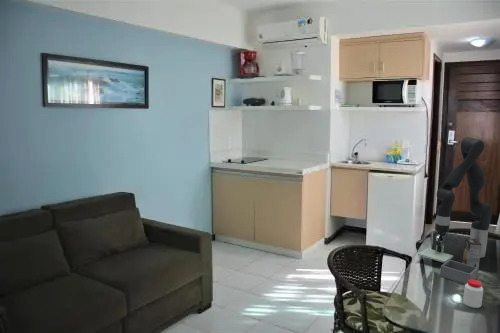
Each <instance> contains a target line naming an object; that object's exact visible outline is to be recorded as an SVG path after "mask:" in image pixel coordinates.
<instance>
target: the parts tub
mask: <svg viewBox="0 0 500 333" xmlns="http://www.w3.org/2000/svg"><path fill="white" fill-rule="evenodd" d="M478 275H479V269H478V268H477V267H474V266H470V265H467V264H463V262H460V261H455V260H452V259H450V260H448V261H447V262H445V263H444V262H443V264H442V265H440V271H439V277H441V278H444V279H448V280H452V281H454V282H457V283H460V284H463V285H465V284H467V283H468V280H470V279H473V280H478Z"/></svg>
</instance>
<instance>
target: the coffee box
mask: <svg viewBox="0 0 500 333" xmlns="http://www.w3.org/2000/svg"><path fill="white" fill-rule="evenodd" d="M481 246H482V244H481V243H480V242H479V241H478V240H477V239H471V238H470V237H469V238H468V237H466V238H465V239H464V249H463V256H462V263H463V264H467V265H470V266H474V267H477V268H478V270H479V267H480V260H481V258H480V253H481Z"/></svg>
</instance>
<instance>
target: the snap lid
mask: <svg viewBox="0 0 500 333" xmlns="http://www.w3.org/2000/svg"><path fill="white" fill-rule="evenodd" d="M437 246H438V245H436V244H435V249H431V248H428V247H427V248H425V249H423V250H422V251H420V252H418V253H417V255H418V256H421V257H423V258H426V259H429V260H433V261H437V262H440V263H443V264H444V263H445V262H447V261H448V260H452V258H454V255H453V254H450V253H447V252H446V253H445V252H444V249H445V243H444V244H442V248H441V252H438V251H437Z"/></svg>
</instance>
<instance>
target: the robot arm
mask: <svg viewBox="0 0 500 333" xmlns="http://www.w3.org/2000/svg"><path fill="white" fill-rule="evenodd" d="M484 149H485V142H484V141H483V140H481V139H478V138H474V137H470V136H467V137H464V138H463V139H461V141H460V151H461V155H462V158H463V161H461V162H460V163H459V164H458V165H456V166H455V167H454V168H452V170H451V172H450V173H449V175H448V176H447V178H446V180H445V182H443V184H442V185H440V187H439V188H438V189H437V191H436V198H437V199H438V200H440V201H442V204H439V205H438V206H437V209H436V210H437V211H436V217H435V225H434V231H436V232H437V233H436V237H434V243H435V246H436V245H438V246H437V251H438V252H441V248H442V244H444V245H445V243H446V240H447V238H448V232H450V225H451V213H452V212H451V211H452V207H453V206H454V203H455V201H456V195H455V193H454V192H453V191H452V190H453V189H457V188H458V187H459V185H460V184H461V182H462V180H463V179H464V177H465V175H466V182H467V187H468V195H469V197H468V198H469V200H468V201H469V211H470V213H471V215H472V216H475V217H478V218H480V219H479V220H476V221H475V220H474V221H472V222H471V223H470V224H471V227H470V235H469V238H471V239H477V240H478V241H479V242H480V243H481V244H482V246H481V253H480V259H482V258H485V257H486V253H487V252H486V251H487V244H488V235H489V227H490V225H491V223H492V222H491V221H492V215H493V206H492V204H491V203H487V202H484V201H480V193H481V192H482V190H483V189H484V187H485V185H486V176H485V173H484V170H483V168H482V166H481V165H480V164H479V162H478V158H479V157H480V156H481V155H482V153H483V152H484Z"/></svg>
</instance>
